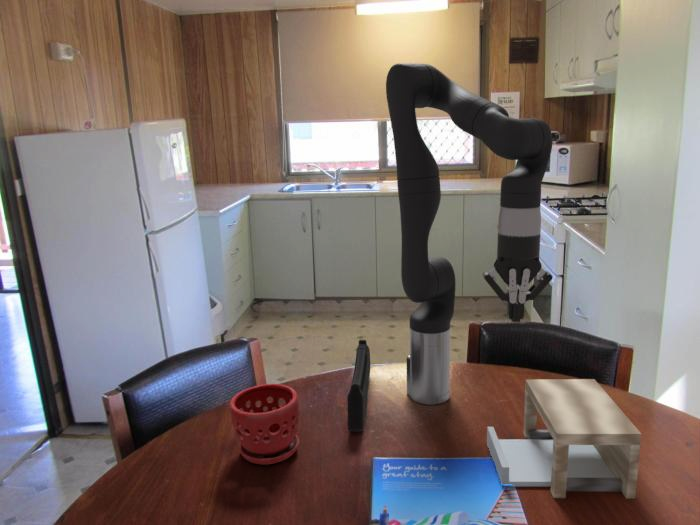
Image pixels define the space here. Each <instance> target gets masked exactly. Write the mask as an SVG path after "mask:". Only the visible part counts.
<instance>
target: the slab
mask: <svg viewBox="0 0 700 525" xmlns="http://www.w3.org/2000/svg"><path fill="white" fill-rule="evenodd" d="M486 445H487V449H488V448H489V449H488V451H490V452H489V454H490V457H491V456H492V457H491V459H492V458H493V460H494V462H495V465H496V468H497V471H498V474H499V477H500V480H501V483H502V484H512V485H515V486H514V487H546V488H547V487H548V488H549V487H550V488H551V474H552V456H553V439H528V438H525V439H517V438H515V439H514V438H513V439H511V438H510V439H501V438H500V439H499V437H498V435H497V432H496V431H495V428H494V426H487V427H486ZM493 460H492V461H493ZM498 474H497V475H498ZM499 477H498V478H499ZM567 478H616V477H615V476H614V475H613V473H612V472H611V470H610V469H609V467H608V466H607V464H606V463H605V461H604V460H603V458H602V457H601V456H600V454H599V453H598V451H597V450H596V448H595V447H594V445H569V453H568V469H567ZM500 480H499V481H500ZM501 483H500V484H501Z"/></svg>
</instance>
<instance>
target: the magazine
mask: <svg viewBox="0 0 700 525" xmlns="http://www.w3.org/2000/svg"><path fill="white" fill-rule="evenodd" d="M355 354H356V355H355V362H354V370H353V376H352V381H351V385H350V388H349V393H348V394H347V401H346V402H347V431H348V432H349V431H351V432H354V433H355V432H356V433H358V432H363V431H364V425H365V419H366V414H367V406H368V397H369V387H370V386H369V385H370V376H371V351H370V347H369V346H368V344H367V340H366V339H359V340H358V345H357V347H356V352H355Z"/></svg>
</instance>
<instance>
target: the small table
mask: <svg viewBox="0 0 700 525" xmlns="http://www.w3.org/2000/svg"><path fill="white" fill-rule="evenodd" d="M523 411H524V413H523V432H522V433H523V436H524V438H525V439H553V456H552V474H551V487H550V493H551V495H552V498H553V499H566V498H567V492H615V493H616V492H621V493H622V495H623V496H624V497H625V499H628V500H629V499H633V500H634V499H636V496H637V485H638V474H639V466H640V453H641V445H642V444H641V443H642V433H641V432H640V430H639V429H638V428H637V427H636V426H635V425H634V424H633V422H632V421H631V420H630V419H629V417H628V416H627V415H626V414H625V413H624V412H623V411H622V410H621V408H620V407H619V405H617V403H616V402H615V401H614V400H613V399H612V398H611V396H609V394H608V393H607V392H606V390H604V388H603V387H602V386H601V385H600V383H598V382H597V380H596V379H595V378H581V379H580V378H579V379H578V378H571V379H569V378H567V379H561V378H559V379H557V378H556V379H555V378H554V379H549V378H548V379H547V378H546V379H541V378H540V379H539V378H538V379H525V386H524V408H523ZM537 413H538V414H539V416H540V418H541V419H542V421H543V423H544V425H545V427H546V429H537ZM569 445H594V447H595V448H596V450H597V451H598V453H599V454H600V456H601V457H602V458H603V460H604V461H605V463H606V464H607V466H608V467H609V469H610V470H611V472H612V473H613V475H614V476H615V477H616V478H567V469H568V453H569Z"/></svg>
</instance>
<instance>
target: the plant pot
mask: <svg viewBox="0 0 700 525" xmlns="http://www.w3.org/2000/svg"><path fill="white" fill-rule="evenodd" d="M268 398H272V401H269V400H268ZM298 398H299V397H298V394H297V391H296V390H295V389H294V388H293V387H291V386H289V385H286V384H279V383H264V384H258V385H255V386H251V387H248V388H246V389H243V390H241V391H239V392H238V393H236V394H235V395H234V396H233V397H232V398H231V400H230V402H229V410H230V417H231V422H232V426H233V429H234V434H235V436H236V437H237V438H236V439H237V440H238V441H239V443H240V445H239V452H240V454H241V456H242V458H244V459H245V460H247V462H250V463H252V464H257V465H265V466H268V465H272V464H277V463H280V462H283V461H285V460H287V459H289V458H290V457H291V456H293V455H294V453H295V452H296V450H298V447H299V445H300V439H299V436H298V435H297V432H298V431H297V430H298V426H299V415H300V414H299V413H300V410H299V399H298ZM280 399H282V400H284V401H285V405H284V406H282V405H281V404H280V403H279V400H280ZM258 401H259V402H260V405H258V406H257V405H256V403H257V402H258ZM247 402H250V403H249V405H247ZM265 407H266V408H267V409H266V410H265V409H264V408H265ZM273 408H276V409H274V410H273ZM240 409H242V410H240ZM251 411H252V412H251Z"/></svg>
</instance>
